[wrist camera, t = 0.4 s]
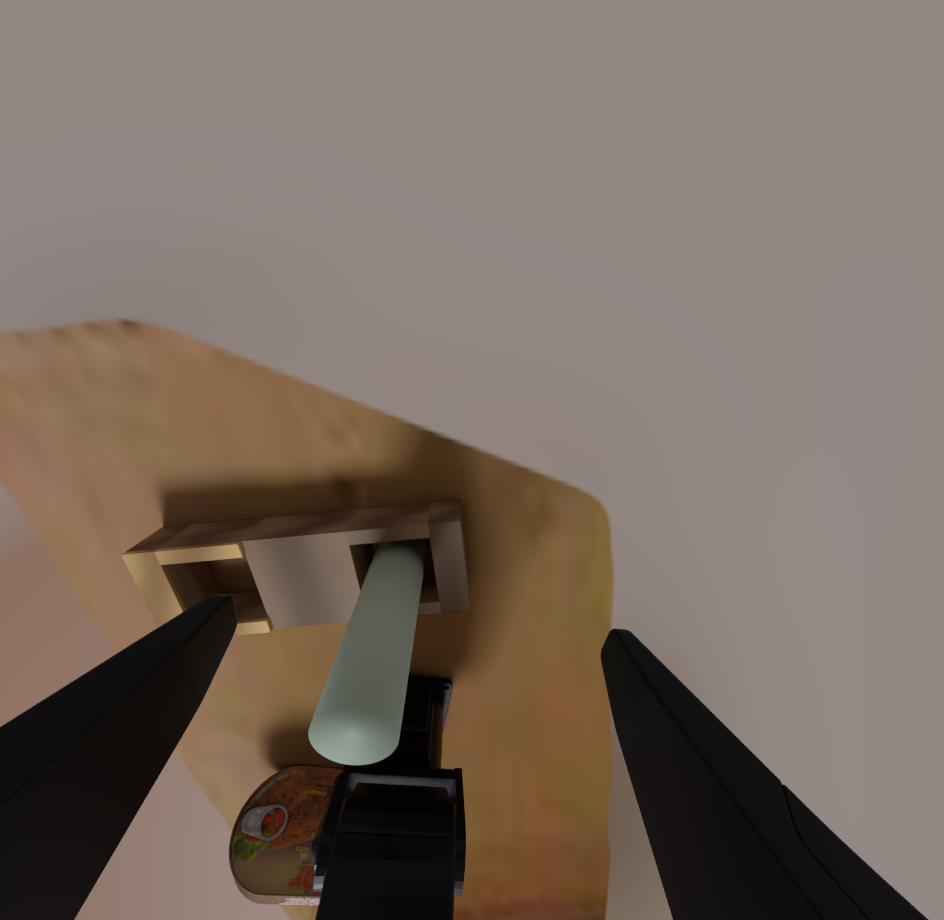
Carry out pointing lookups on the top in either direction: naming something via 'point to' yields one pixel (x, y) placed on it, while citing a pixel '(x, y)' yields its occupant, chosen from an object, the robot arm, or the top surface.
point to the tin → (281, 836)
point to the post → (373, 661)
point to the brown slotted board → (299, 563)
